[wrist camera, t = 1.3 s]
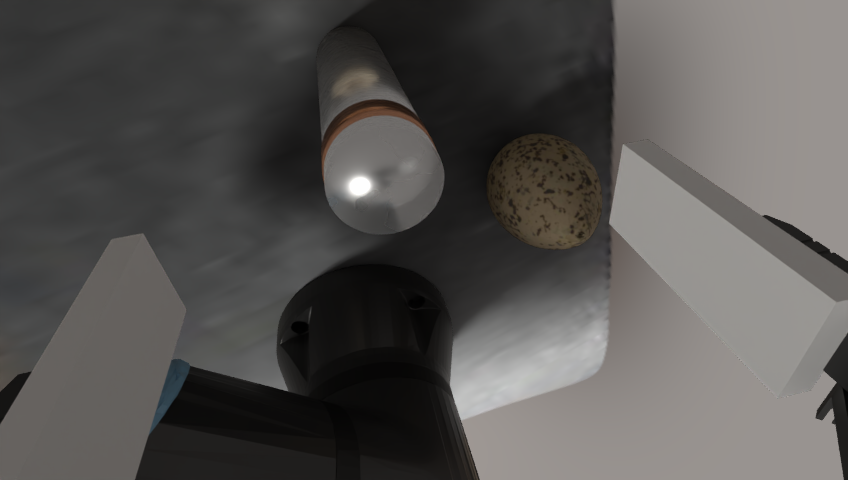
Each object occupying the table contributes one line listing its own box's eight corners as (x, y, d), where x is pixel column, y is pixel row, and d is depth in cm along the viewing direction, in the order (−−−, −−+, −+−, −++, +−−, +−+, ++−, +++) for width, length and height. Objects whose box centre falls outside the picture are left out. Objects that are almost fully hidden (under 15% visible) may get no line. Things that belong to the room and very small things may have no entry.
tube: (387, 89, 30) (449, 223, 17) (324, 99, 29) (337, 245, 16) (377, 20, 27) (441, 115, 14) (308, 30, 27) (309, 137, 14)
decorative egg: (552, 99, 32) (633, 159, 24) (570, 179, 37) (643, 254, 29) (459, 141, 33) (508, 215, 25) (487, 217, 37) (536, 300, 29)
